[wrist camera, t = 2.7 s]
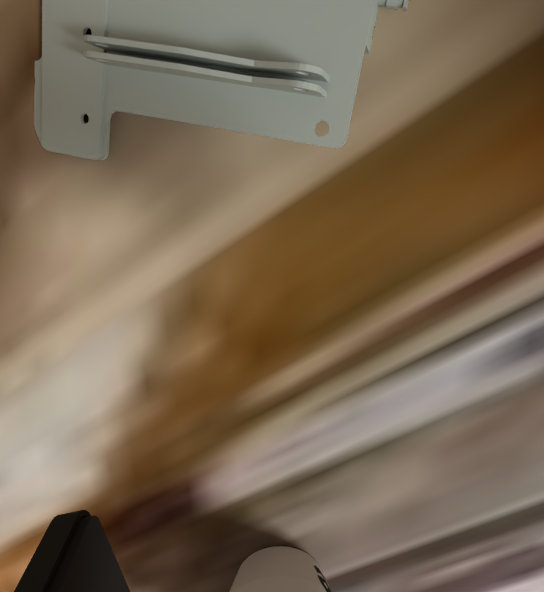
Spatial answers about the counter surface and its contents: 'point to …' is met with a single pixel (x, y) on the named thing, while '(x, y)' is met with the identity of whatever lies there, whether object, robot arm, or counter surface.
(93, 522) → the robot arm
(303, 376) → the counter surface
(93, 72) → the metal bracket
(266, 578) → the cup
